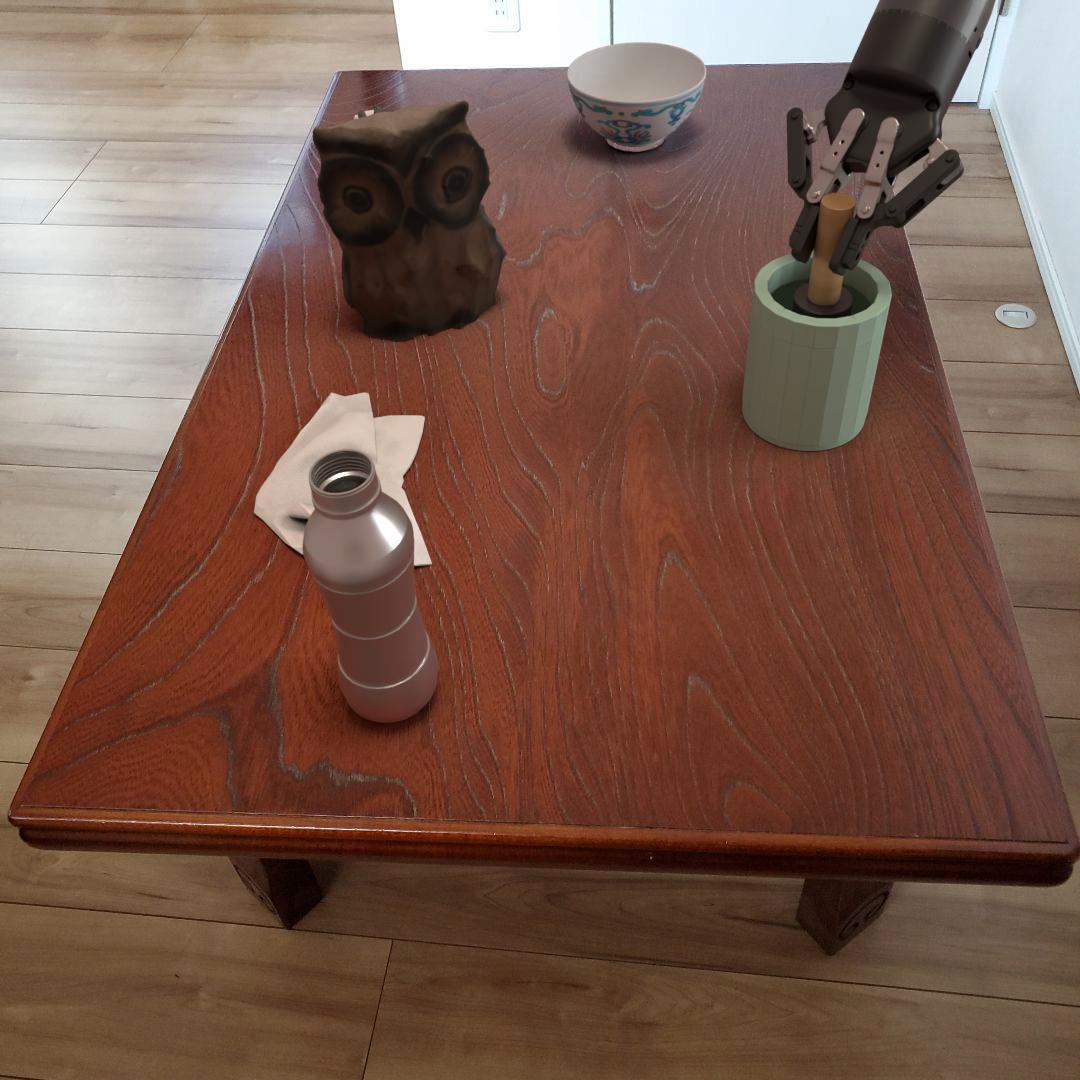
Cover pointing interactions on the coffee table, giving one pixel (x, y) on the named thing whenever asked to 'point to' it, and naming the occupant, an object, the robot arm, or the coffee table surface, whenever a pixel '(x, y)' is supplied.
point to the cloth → (335, 429)
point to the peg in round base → (827, 263)
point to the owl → (410, 219)
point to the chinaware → (636, 90)
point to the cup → (812, 358)
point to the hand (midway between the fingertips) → (817, 264)
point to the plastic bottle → (369, 588)
